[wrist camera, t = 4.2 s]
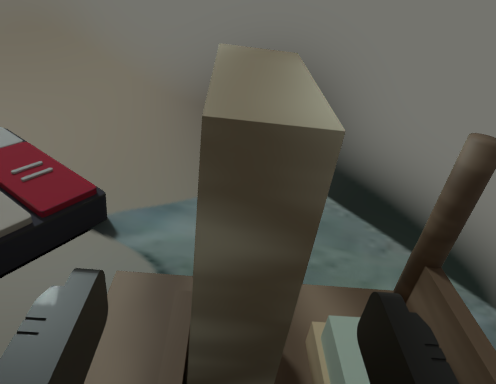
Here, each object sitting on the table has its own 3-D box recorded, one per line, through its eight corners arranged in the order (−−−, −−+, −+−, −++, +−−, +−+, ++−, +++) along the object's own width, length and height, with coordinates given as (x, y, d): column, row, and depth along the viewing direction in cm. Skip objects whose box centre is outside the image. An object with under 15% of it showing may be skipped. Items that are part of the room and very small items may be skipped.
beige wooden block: (180, 499, 14) (202, 115, 6) (195, 359, 20) (219, 43, 11) (240, 501, 15) (345, 131, 6) (240, 362, 20) (297, 53, 11)
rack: (-72, 797, 10) (-738, 882, 3) (118, 286, 25) (99, 91, 18) (625, 770, 11) (1411, 772, 4) (405, 306, 27) (494, 135, 19)
